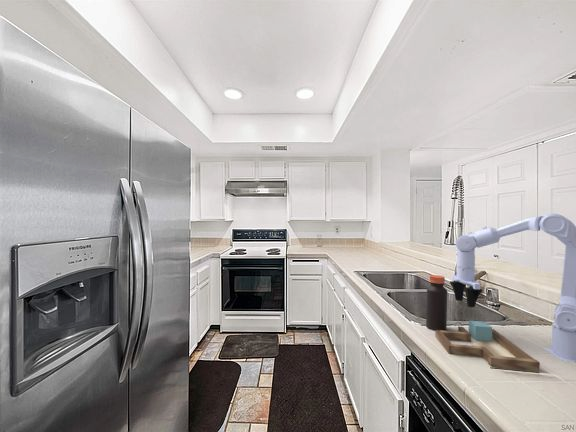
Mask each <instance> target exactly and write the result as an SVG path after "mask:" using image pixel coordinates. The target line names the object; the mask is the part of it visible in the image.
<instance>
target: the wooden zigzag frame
mask: <svg viewBox="0 0 576 432" xmlns="http://www.w3.org/2000/svg"><path fill="white" fill-rule="evenodd" d="M434 332H435V333H434V335H435V339H436V340H437V341H438V342H439V343H440V345H441V346H442V347H443V349H444V350H445V351H446V352H447V354H449V355H458V356H469V357H479V358H480V357H481V358H482V359H484V360H485V361H486V362H487V364H488V365H489V366H490V369H494V370H502V371H512V372H513V371H514V372H523V373H533V374H540V365H541V364H540V361H538V360H537V359H535V358H534V357H532V356H531V355H529V354H528V353H527V352H525V351H524V350H523V349H521V348H520V347H519V346H517V345H516V344H515V343H513V342H512V341H510V340H509V339H508V338H506V336H504V335H502V334H501V333H499V332H498V331H497V330H495V329H494V328H492V342H484V341H475V340H474V339H473V338H472V337H471V334H470V333H469V330H467V328H465V327H464V326H458V330H457V331H451V330H446V331H443V330H435V331H434ZM451 341H460V342H470V343H472V344H473V345H467V344H458V343H457V344H455V343H452V342H451Z"/></svg>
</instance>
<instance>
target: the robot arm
mask: <svg viewBox="0 0 576 432" xmlns="http://www.w3.org/2000/svg"><path fill="white" fill-rule="evenodd" d="M541 230H542V231H543V232H544V233H546V234H549V235H550V236H553V237H555V238H556V239H557V240H559V241H560V242H561V243H563V245H565V250H564V260H563V269H562V270H563V271H562V279H561V289H560V297H559V303H558V305H556V306H555V308H554V316H553V320H554V321H553V322H552V323H551V347H549V348H548V347H544V348H543V349H544V350H545V351H548V352H549V353H551V354H552V355H553V356H555V357H557V359H560V360H561V361H564V362H565V361H566V362H574V363H576V225H575V224H574V222H573V221H572V220H570V219H568V218H566V217H565V216H564V215H562V214H558V213H549V214H546V215H540V216H534V217H529V218H526V219H522V220H519V221H516V222H514V223H511V224H507V225H504V226H502V227H500V228H494V227H491V226H490V227H487V226H484V227H482V228H481V229H479V230H477V231H474V232H471V231H470V232H468V233H467V234H466V235H465V234H464V235H463V234H462V235H461V236H458V237H457V238H456V240H455V246H456V248H457V250H456V251H457V253H456V274H452V275H451V280H452V281H451V280H450V281H449V284H450V285H451V288H452V290H453V293H454V298H455V300H456V301H457V302H459V301H460V302H461V301H462V302H463V299H464V292H465V296H466V306H467V308H475V307H476V304H477V300H478V299H479V297H480V295H481V294H482V293H483V289H482V288H481V283H480V282H478V281H477V280H476V279H475V273H476V272H475V270H476V254H475V253H476V251H475V249H476V248H478V249H479V248H483V247H485V246H486V247H487V246H489V245H493V244H497V243H499V241H500V240H501V238H503V237H506V236H510V235H513V234H517V233H521V232H524V231H535V232H536V231H537V232H539V231H541ZM467 286H468V287H467Z"/></svg>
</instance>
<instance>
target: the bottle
mask: <svg viewBox="0 0 576 432" xmlns="http://www.w3.org/2000/svg"><path fill="white" fill-rule="evenodd" d="M445 281H446V278H445V276H443V275H437V274H430V275H429V283H430V285H429V286H428V287H427V288H426V308H425V309H426V314H425V315H426V317H425V318H426V321H425V322H426V323H425V327H426V328H427V329H428V330H430V331H434V332H435V330H443V331H447V327H448V326H447V323H448V316H447V315H448V313H447V312H448V290H447V288H445V286H444V285H445Z"/></svg>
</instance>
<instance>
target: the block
mask: <svg viewBox="0 0 576 432" xmlns="http://www.w3.org/2000/svg"><path fill="white" fill-rule="evenodd" d="M492 329H493V327H492V326H491V325H490V324H488V323H487V322H485V321H480V320H479V321H478V320H468V332H469V333H470V334H471V337H472V338H473V339H474V340H475V341H484V342H492Z"/></svg>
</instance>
